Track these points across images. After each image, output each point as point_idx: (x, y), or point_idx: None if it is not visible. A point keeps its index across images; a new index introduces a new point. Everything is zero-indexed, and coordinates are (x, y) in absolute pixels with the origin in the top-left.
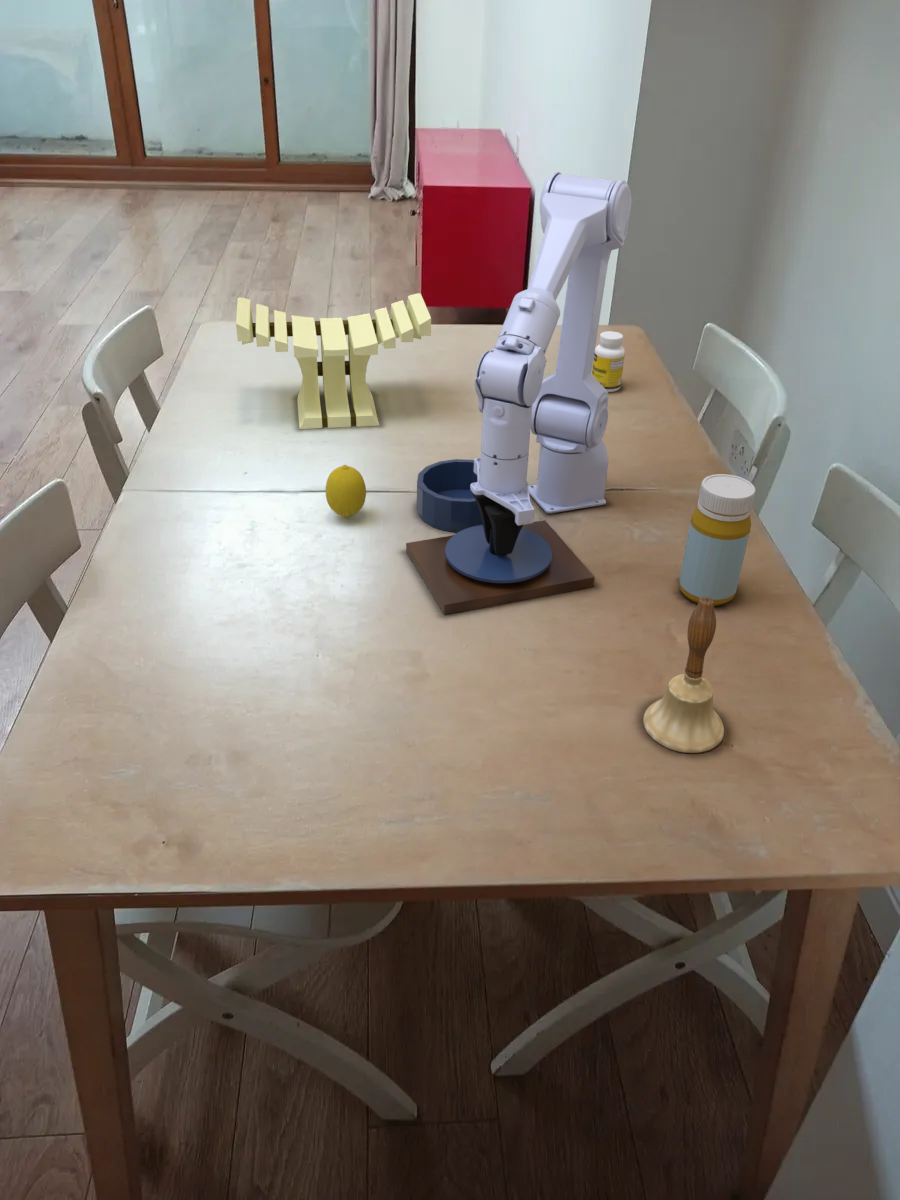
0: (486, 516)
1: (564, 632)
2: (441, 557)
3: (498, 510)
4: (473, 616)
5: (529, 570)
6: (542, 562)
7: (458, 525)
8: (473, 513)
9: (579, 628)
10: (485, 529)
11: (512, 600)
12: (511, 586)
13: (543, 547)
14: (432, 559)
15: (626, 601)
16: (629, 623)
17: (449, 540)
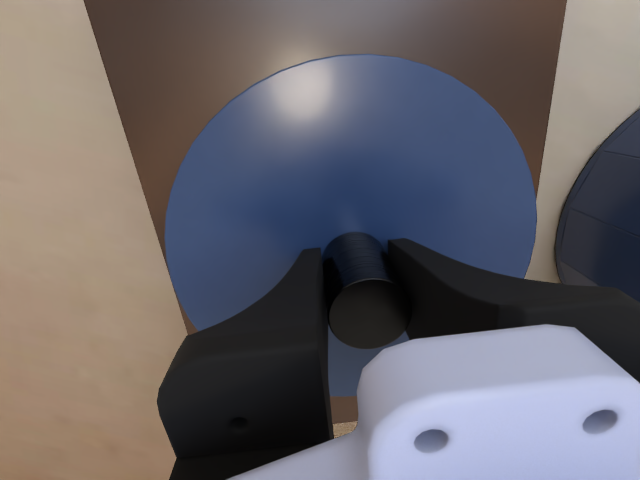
0: (432, 290)
1: (32, 314)
2: (417, 52)
3: (224, 418)
4: (97, 92)
5: (216, 319)
6: None
7: (602, 178)
8: (614, 241)
9: (53, 347)
10: (408, 254)
11: None
12: None
13: (338, 382)
14: (413, 7)
15: (164, 449)
16: (80, 435)
17: (479, 100)
